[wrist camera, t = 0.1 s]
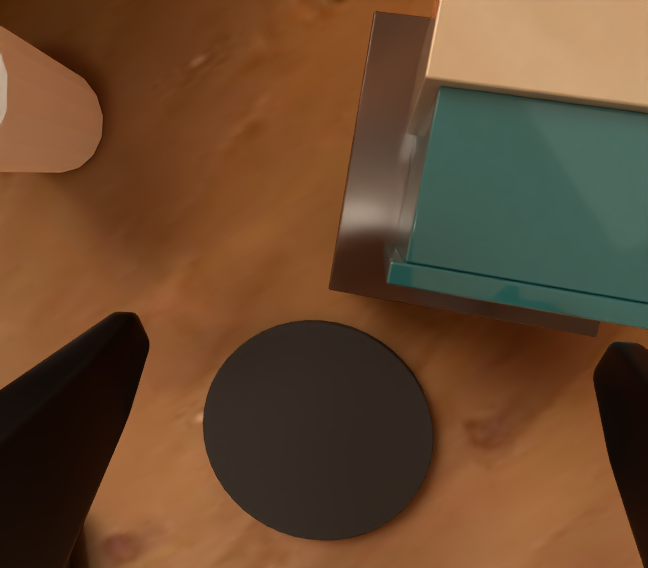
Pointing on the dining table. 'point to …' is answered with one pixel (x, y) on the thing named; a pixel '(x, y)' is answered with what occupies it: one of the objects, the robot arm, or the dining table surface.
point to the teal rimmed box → (530, 158)
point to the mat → (318, 430)
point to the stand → (399, 183)
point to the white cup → (43, 111)
